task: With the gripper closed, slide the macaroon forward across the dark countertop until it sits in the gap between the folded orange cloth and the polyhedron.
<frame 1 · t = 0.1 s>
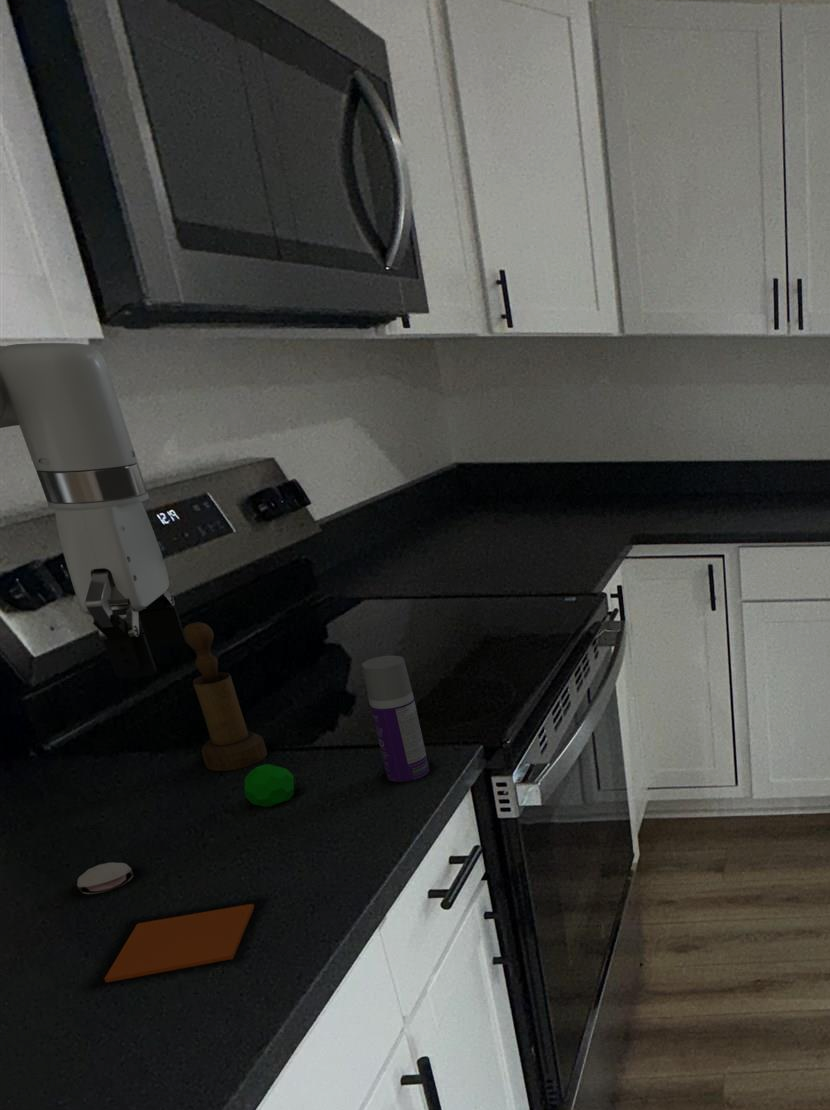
hand: (153, 659, 93), 20 cm above the counter, tool pointing down, fingers open, 9 cm apart
macaroon: (108, 888, 91), on the counter
mortar and pestle: (237, 761, 117), on the counter
orange cloth: (184, 948, 82), on the counter
polyhedron: (275, 806, 106), on the counter
container: (409, 779, 112), on the counter
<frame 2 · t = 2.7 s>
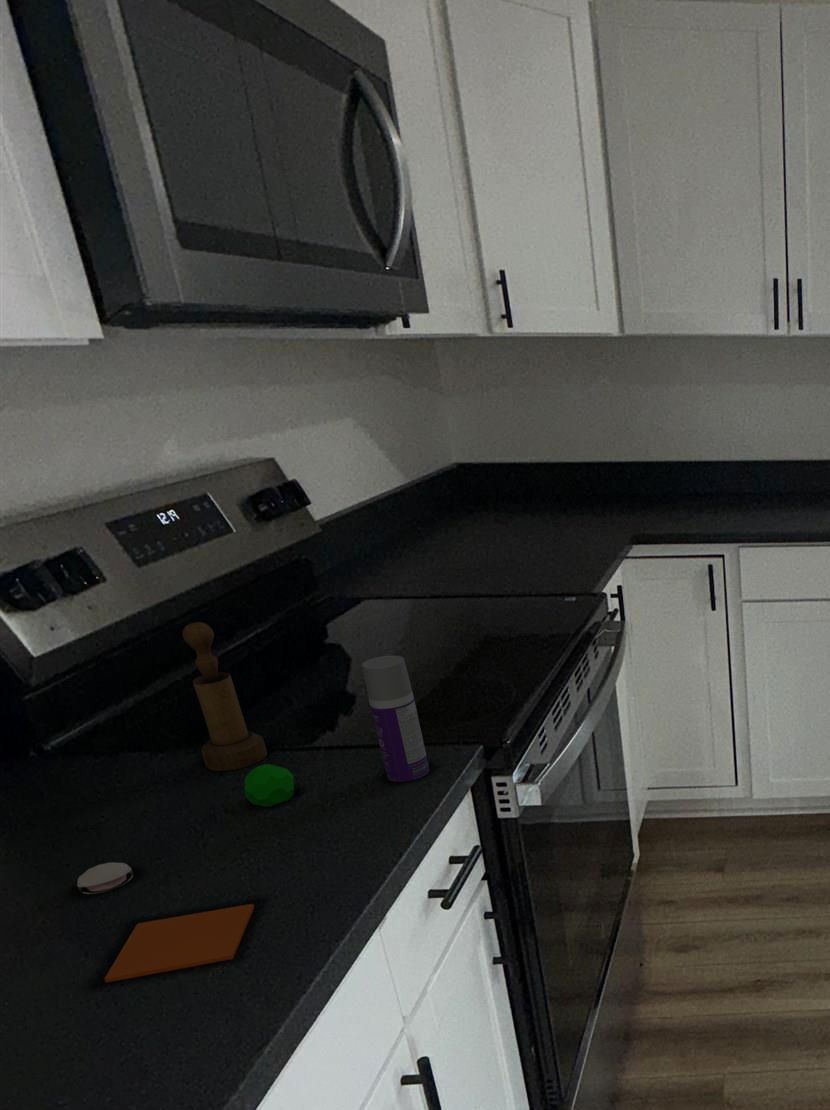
nothing on the counter moved.
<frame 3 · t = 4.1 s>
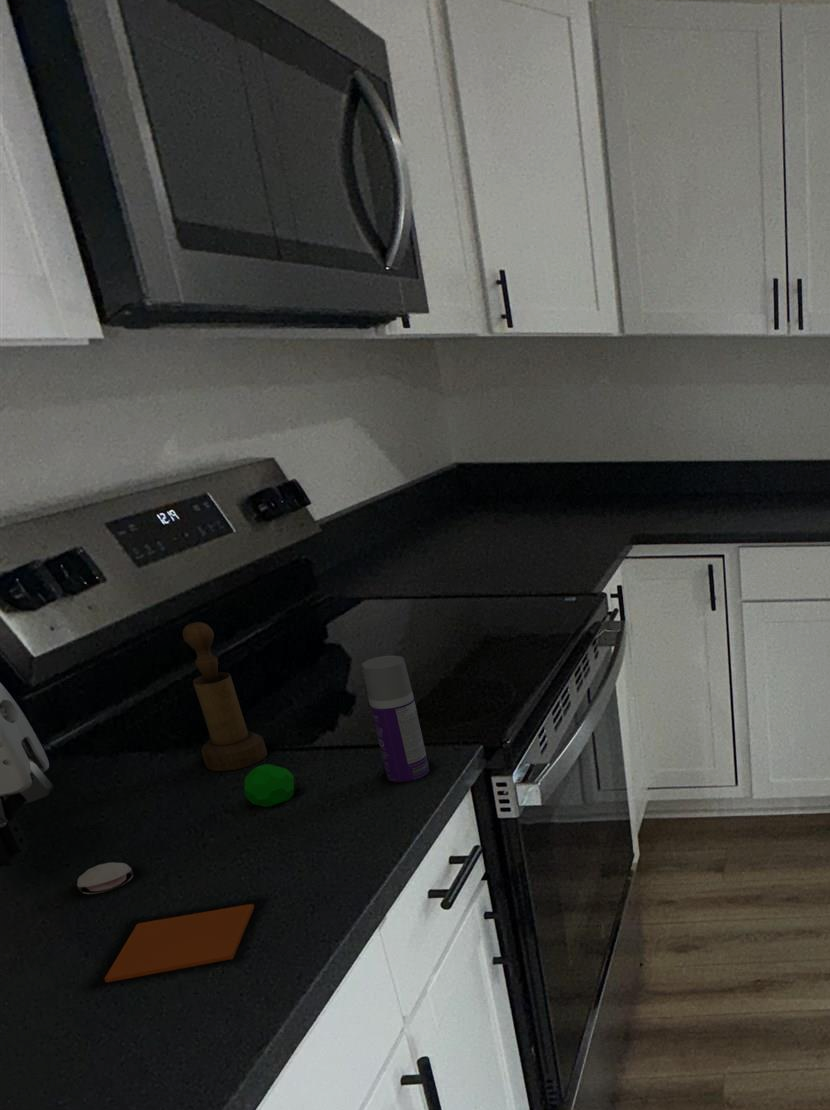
hand: (9, 859, 87), 5 cm above the counter, tool pointing down, fingers closed
nothing on the counter moved.
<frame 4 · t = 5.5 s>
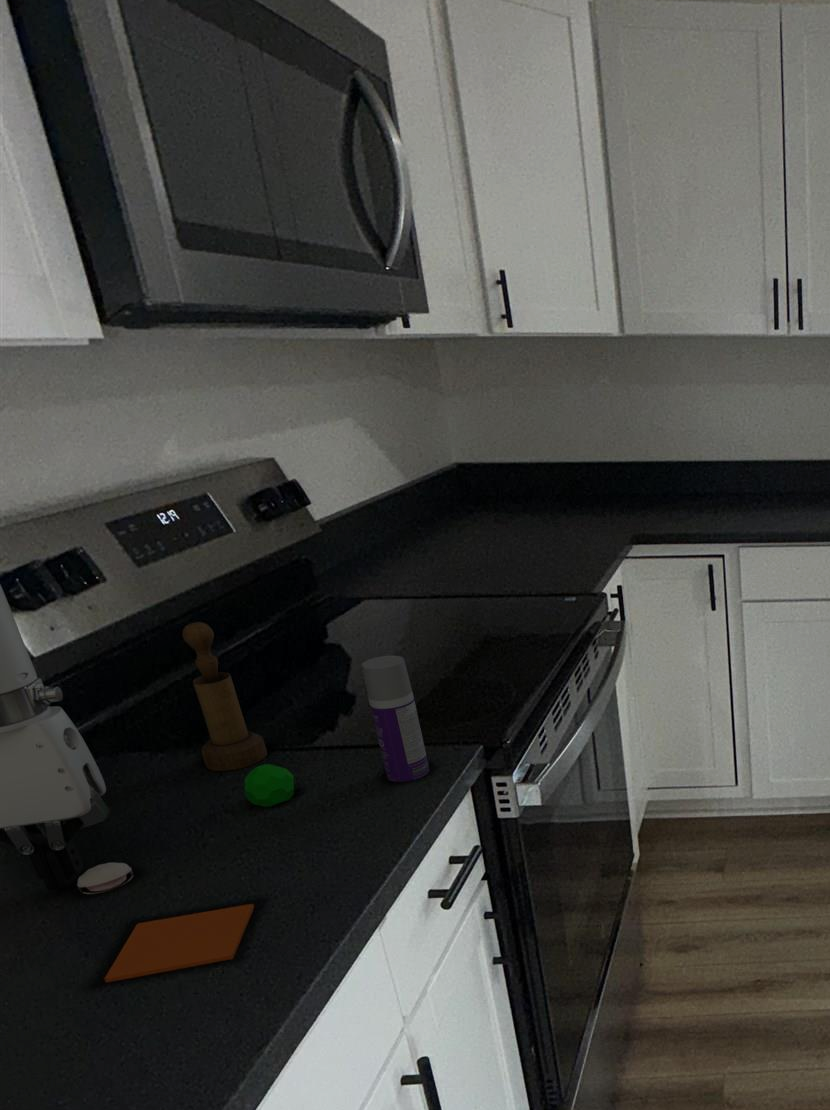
hand: (65, 880, 89), 1 cm above the counter, tool pointing down, fingers closed
macaroon: (109, 888, 91), on the counter, touching gripper
everything else where it was.
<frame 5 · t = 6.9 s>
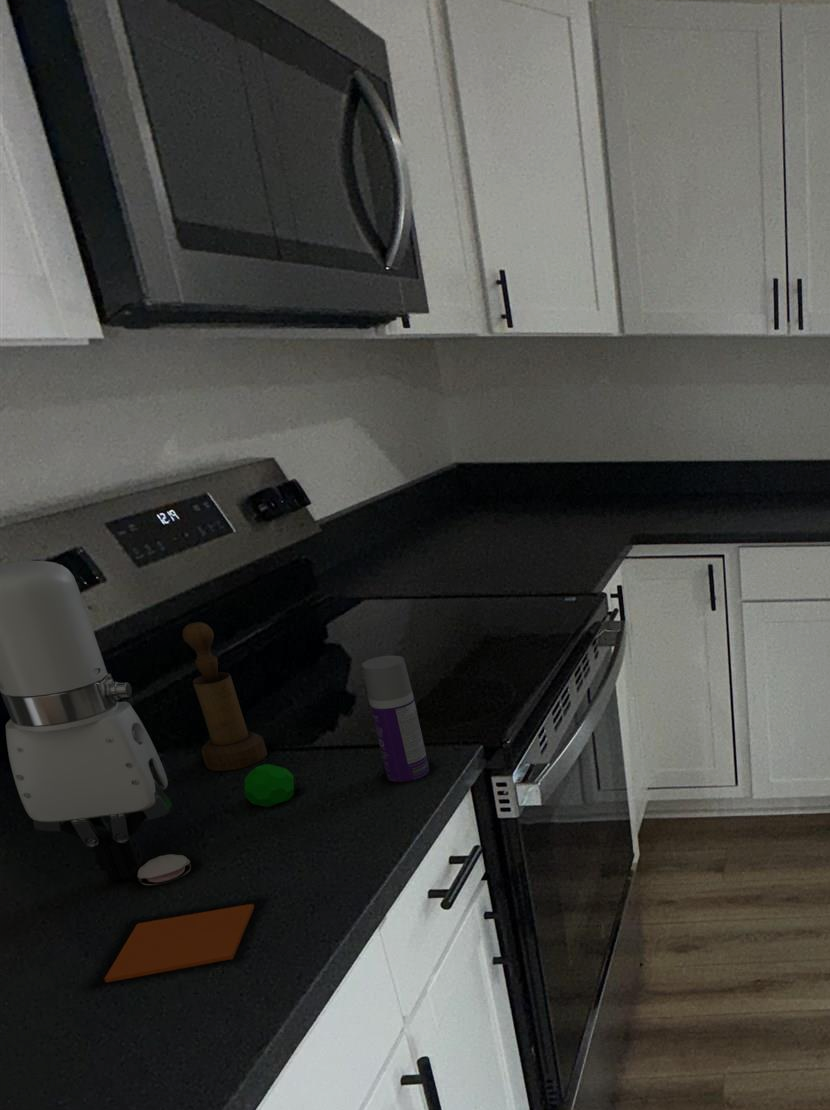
hand: (126, 872, 91), 1 cm above the counter, tool pointing down, fingers closed
macaroon: (168, 879, 92), on the counter, touching gripper
everything else where it was.
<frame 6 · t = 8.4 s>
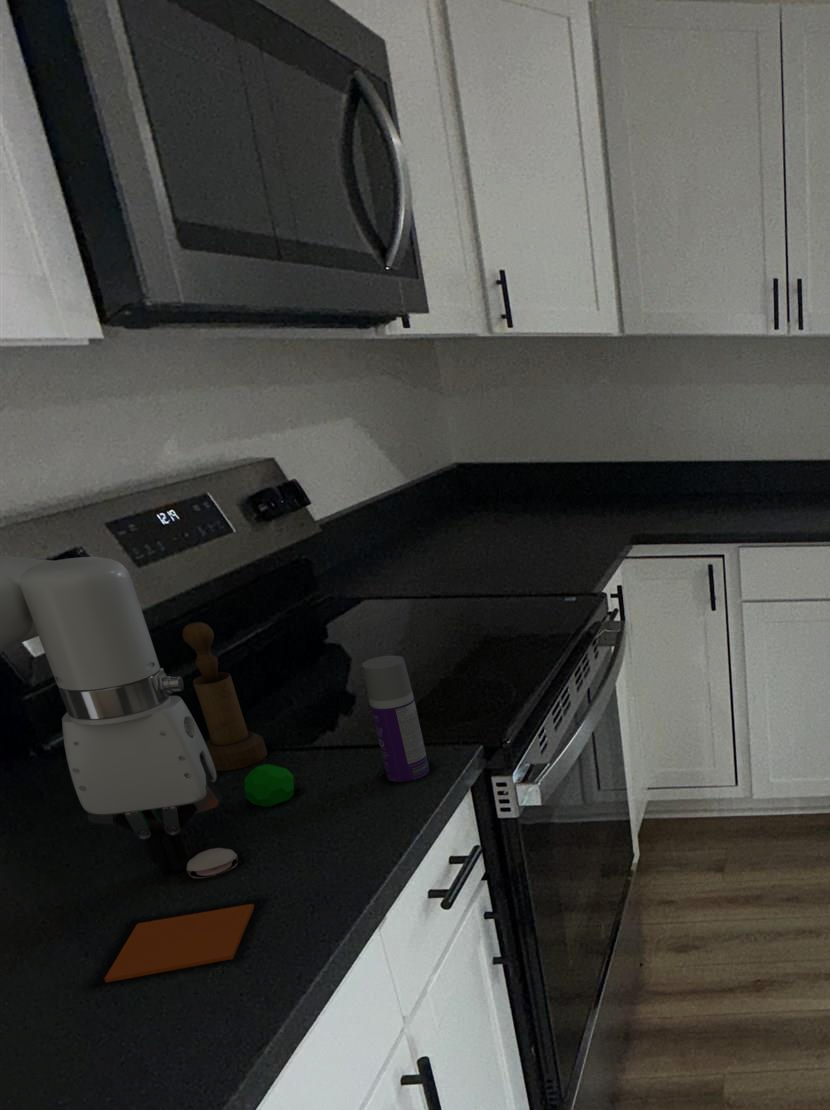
hand: (176, 864, 92), 1 cm above the counter, tool pointing down, fingers closed
macaroon: (216, 872, 93), on the counter, touching gripper
everything else where it was.
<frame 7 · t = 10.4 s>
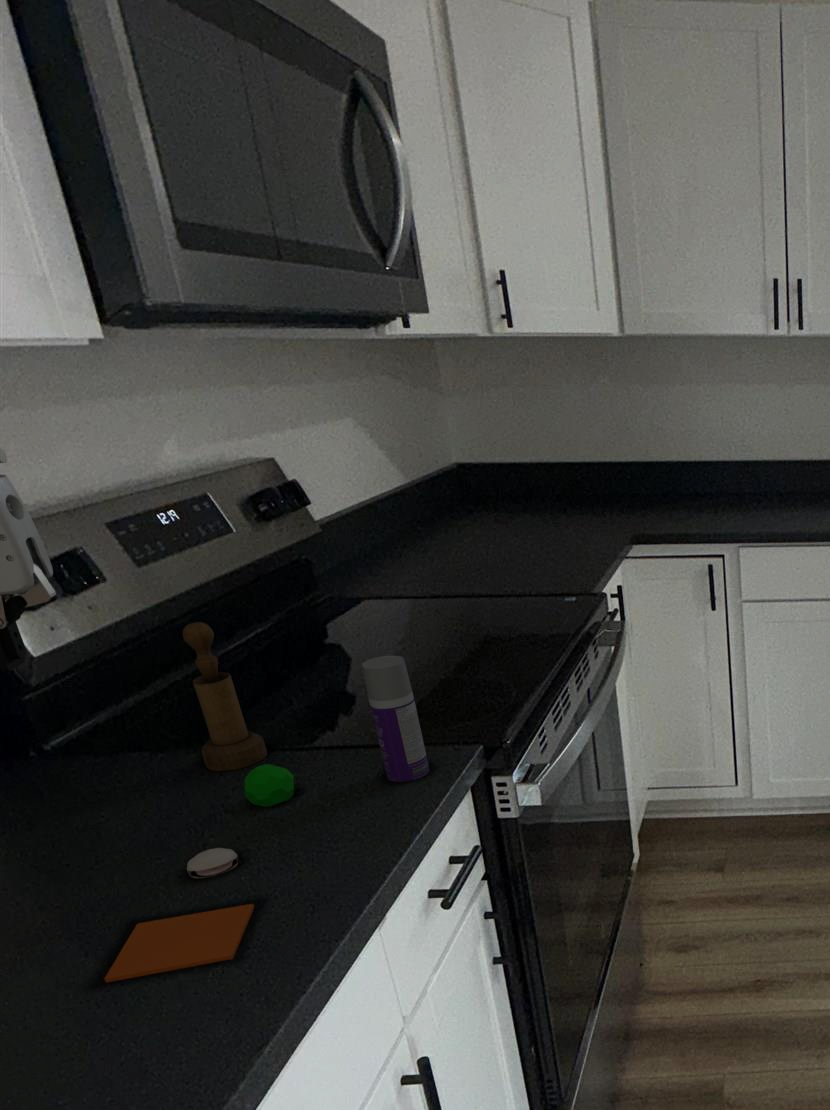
hand: (7, 666, 85), 22 cm above the counter, tool pointing down, fingers closed
macaroon: (216, 872, 93), on the counter
everything else where it was.
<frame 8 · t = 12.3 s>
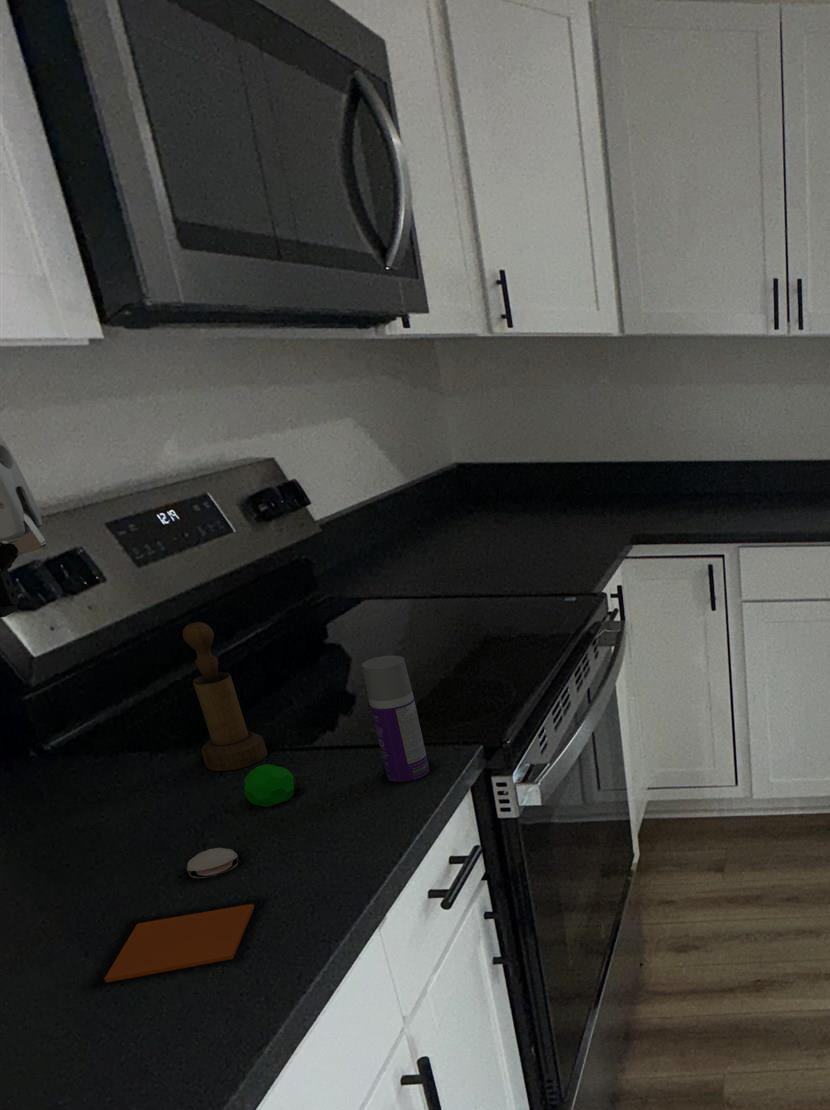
hand: (0, 613, 89), 25 cm above the counter, tool pointing down, fingers closed
nothing on the counter moved.
at the end: macaroon inside the target area on the counter beside the orange cloth (1.3 cm from its centre), on the counter; macaroon moved 9.3 cm from its start; polyhedron moved 0.2 cm from its start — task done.
